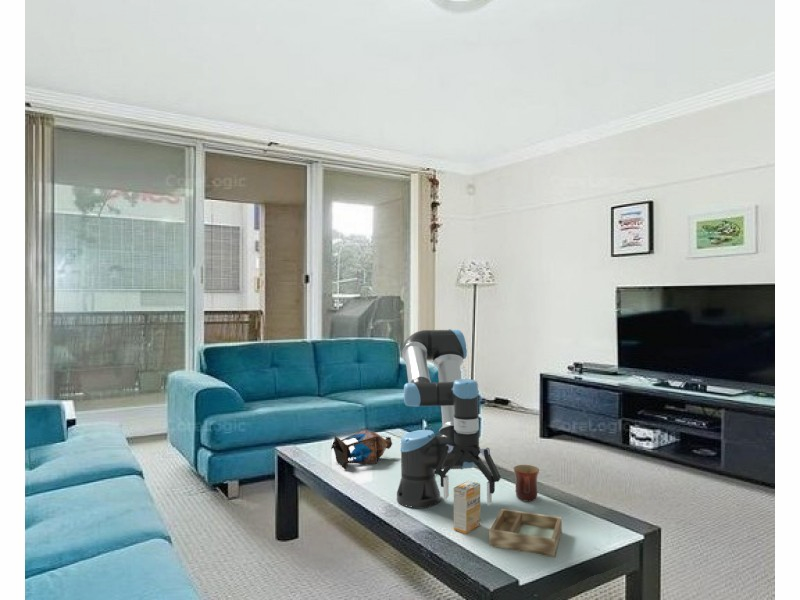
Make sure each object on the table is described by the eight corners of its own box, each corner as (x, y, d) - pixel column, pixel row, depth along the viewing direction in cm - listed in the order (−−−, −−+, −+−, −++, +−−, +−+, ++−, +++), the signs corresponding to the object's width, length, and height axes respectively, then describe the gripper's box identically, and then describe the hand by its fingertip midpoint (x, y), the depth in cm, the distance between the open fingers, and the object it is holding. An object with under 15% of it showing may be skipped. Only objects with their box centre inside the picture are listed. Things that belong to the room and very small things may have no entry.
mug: (513, 492, 192) (513, 464, 192) (538, 494, 190) (538, 465, 190) (513, 506, 180) (513, 475, 180) (540, 507, 179) (540, 477, 178)
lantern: (339, 481, 224) (392, 468, 235) (347, 459, 214) (402, 446, 225) (327, 449, 234) (379, 437, 246) (334, 426, 224) (387, 415, 236)
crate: (489, 545, 153) (489, 530, 153) (501, 522, 168) (501, 508, 168) (554, 557, 146) (554, 540, 146) (561, 532, 161) (561, 517, 161)
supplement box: (466, 534, 160) (466, 491, 160) (453, 530, 163) (452, 487, 163) (481, 525, 166) (481, 483, 166) (468, 520, 170) (467, 479, 169)
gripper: (423, 430, 166) (424, 499, 166) (504, 437, 156) (505, 510, 156) (432, 425, 173) (433, 491, 173) (509, 431, 163) (510, 501, 163)
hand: (467, 500), depth 164 cm, fingers open, 13 cm apart
